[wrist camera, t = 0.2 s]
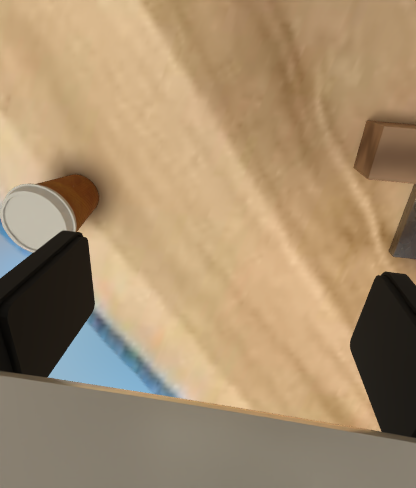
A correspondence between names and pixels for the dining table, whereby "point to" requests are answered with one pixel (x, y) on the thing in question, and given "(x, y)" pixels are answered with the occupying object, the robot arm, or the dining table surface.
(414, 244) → the balance
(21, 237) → the disposable coffee cup
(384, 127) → the walnut block
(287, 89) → the dining table surface
